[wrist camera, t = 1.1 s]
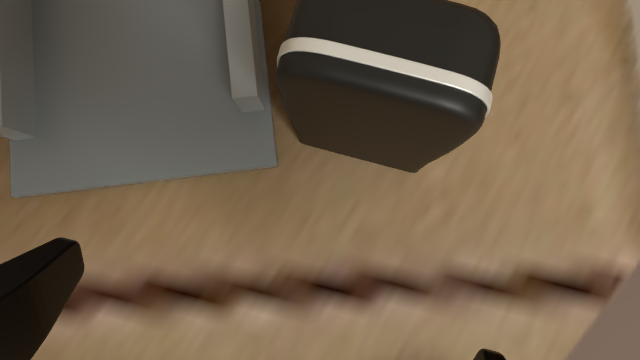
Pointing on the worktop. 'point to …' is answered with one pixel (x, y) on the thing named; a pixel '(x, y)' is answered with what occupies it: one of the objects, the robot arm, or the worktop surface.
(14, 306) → the robot arm
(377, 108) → the battery charger
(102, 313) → the worktop surface
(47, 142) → the tray
